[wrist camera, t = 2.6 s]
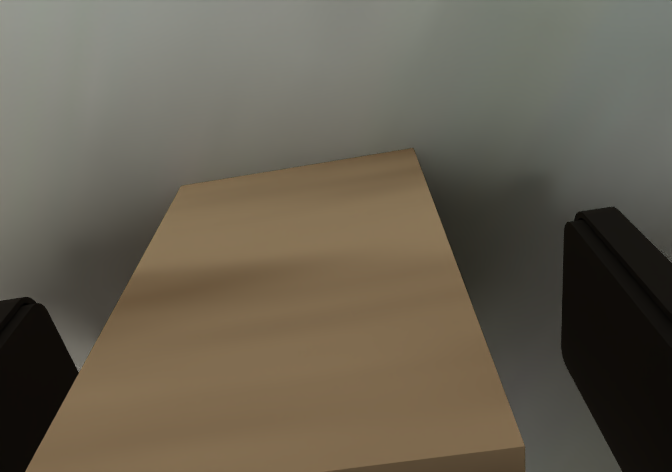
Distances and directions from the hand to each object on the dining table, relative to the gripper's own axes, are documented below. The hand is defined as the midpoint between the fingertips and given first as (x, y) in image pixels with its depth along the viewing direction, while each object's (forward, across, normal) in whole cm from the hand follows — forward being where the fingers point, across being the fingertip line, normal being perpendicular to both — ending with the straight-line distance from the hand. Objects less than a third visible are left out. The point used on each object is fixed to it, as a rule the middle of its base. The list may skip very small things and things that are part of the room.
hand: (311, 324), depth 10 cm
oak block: (+2, 0, 0) cm, 2 cm away
